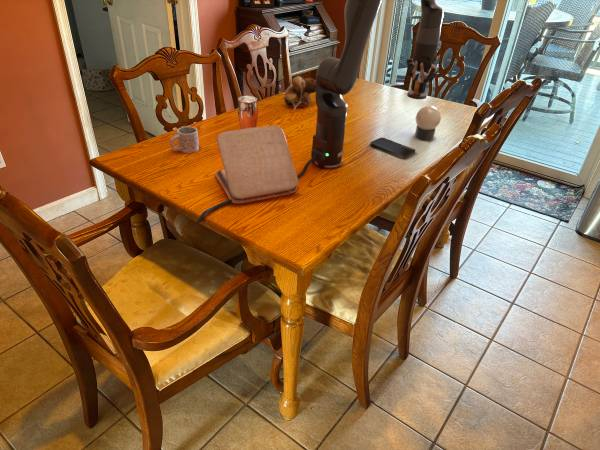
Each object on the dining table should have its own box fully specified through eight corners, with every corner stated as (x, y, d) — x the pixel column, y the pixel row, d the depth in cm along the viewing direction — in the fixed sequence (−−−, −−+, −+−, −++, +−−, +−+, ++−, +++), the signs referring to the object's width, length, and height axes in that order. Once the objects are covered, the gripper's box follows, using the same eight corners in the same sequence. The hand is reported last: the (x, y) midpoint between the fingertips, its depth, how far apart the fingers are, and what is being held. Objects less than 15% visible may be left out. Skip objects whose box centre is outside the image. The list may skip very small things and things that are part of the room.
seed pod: (329, 91, 190) (308, 72, 196) (303, 90, 179) (281, 69, 185) (316, 117, 198) (295, 98, 204) (290, 118, 187) (269, 97, 193)
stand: (424, 142, 167) (426, 132, 165) (410, 135, 172) (412, 125, 170) (437, 138, 171) (439, 128, 168) (423, 132, 175) (426, 122, 173)
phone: (381, 136, 166) (416, 150, 158) (381, 139, 167) (416, 152, 159) (369, 142, 161) (404, 156, 153) (368, 145, 162) (404, 159, 154)
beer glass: (262, 140, 162) (262, 99, 153) (247, 145, 157) (246, 103, 149) (249, 134, 165) (248, 94, 157) (234, 139, 161) (233, 98, 153)
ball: (425, 136, 165) (431, 112, 160) (408, 127, 171) (413, 104, 166) (442, 132, 169) (448, 108, 164) (425, 123, 175) (430, 101, 170)
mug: (191, 143, 157) (190, 125, 153) (202, 149, 153) (201, 131, 149) (166, 150, 151) (164, 132, 147) (177, 157, 147) (175, 138, 143)
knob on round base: (416, 100, 158) (419, 84, 155) (403, 94, 162) (405, 79, 159) (430, 97, 161) (433, 82, 158) (416, 92, 166) (419, 76, 162)
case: (232, 208, 123) (230, 154, 114) (213, 173, 139) (209, 124, 130) (300, 195, 131) (303, 144, 122) (274, 164, 146) (275, 117, 137)
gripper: (404, 37, 154) (396, 87, 164) (434, 46, 144) (424, 99, 154) (420, 35, 157) (411, 84, 167) (450, 44, 148) (439, 96, 158)
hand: (417, 91), depth 161 cm, fingers closed on knob on round base, 3 cm apart
